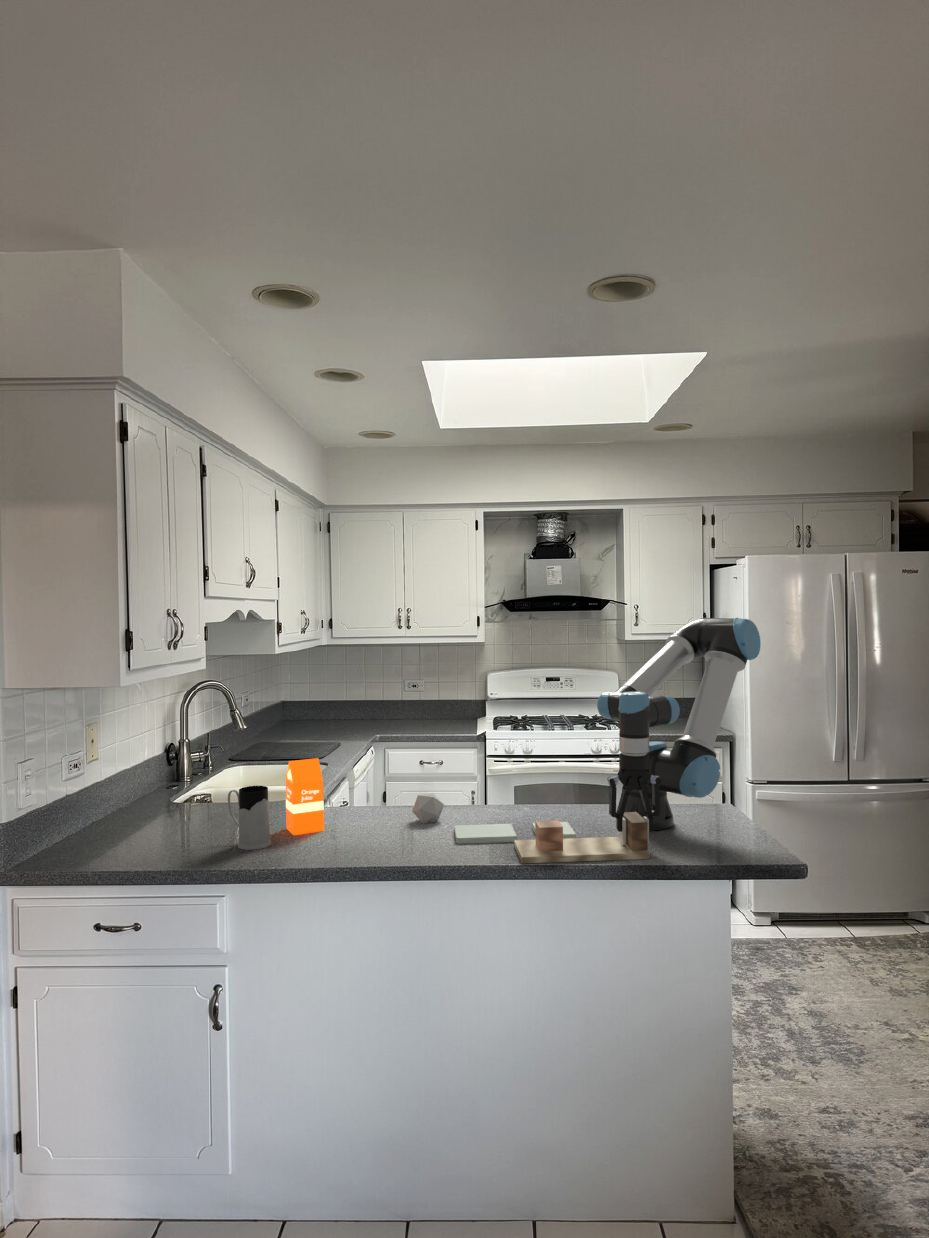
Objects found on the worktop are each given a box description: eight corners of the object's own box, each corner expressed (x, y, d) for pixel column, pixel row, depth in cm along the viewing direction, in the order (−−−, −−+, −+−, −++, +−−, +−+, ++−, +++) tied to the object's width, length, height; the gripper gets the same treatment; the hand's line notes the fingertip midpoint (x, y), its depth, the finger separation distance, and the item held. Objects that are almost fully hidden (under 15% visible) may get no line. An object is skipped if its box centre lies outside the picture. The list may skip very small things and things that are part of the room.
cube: (558, 843, 210) (558, 820, 210) (563, 850, 204) (562, 826, 204) (535, 844, 210) (535, 821, 210) (539, 851, 204) (539, 827, 204)
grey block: (434, 817, 245) (415, 792, 245) (453, 807, 240) (433, 782, 240) (422, 833, 238) (401, 808, 238) (441, 823, 234) (420, 797, 233)
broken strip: (567, 826, 231) (567, 821, 231) (576, 839, 219) (575, 833, 219) (454, 830, 229) (454, 825, 229) (456, 843, 217) (456, 838, 217)
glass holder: (253, 851, 212) (252, 794, 212) (216, 843, 220) (215, 787, 220) (278, 842, 220) (277, 787, 219) (241, 835, 227) (240, 781, 227)
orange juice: (286, 828, 233) (284, 758, 233) (316, 824, 237) (314, 755, 237) (293, 835, 226) (292, 763, 226) (324, 830, 230) (323, 760, 230)
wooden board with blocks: (634, 841, 216) (634, 809, 216) (650, 858, 202) (649, 824, 202) (514, 845, 214) (513, 813, 213) (521, 863, 200) (521, 828, 200)
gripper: (664, 749, 213) (665, 838, 213) (595, 751, 211) (595, 840, 212) (674, 755, 205) (674, 846, 206) (602, 756, 204) (602, 849, 204)
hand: (634, 843), depth 209 cm, fingers open, 5 cm apart
